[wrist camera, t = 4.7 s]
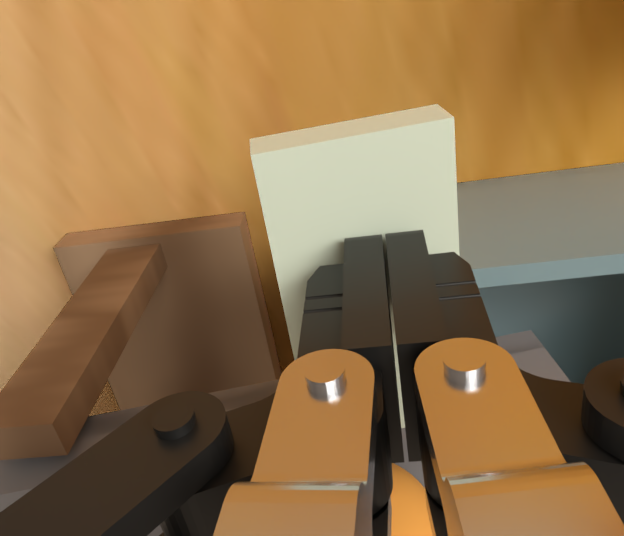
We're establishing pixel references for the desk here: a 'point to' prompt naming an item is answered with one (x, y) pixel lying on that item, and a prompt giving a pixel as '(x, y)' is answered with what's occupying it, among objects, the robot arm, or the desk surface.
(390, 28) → the desk surface
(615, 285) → the grey open bin
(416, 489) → the ball
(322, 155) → the lever
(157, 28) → the desk surface
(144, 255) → the stand
